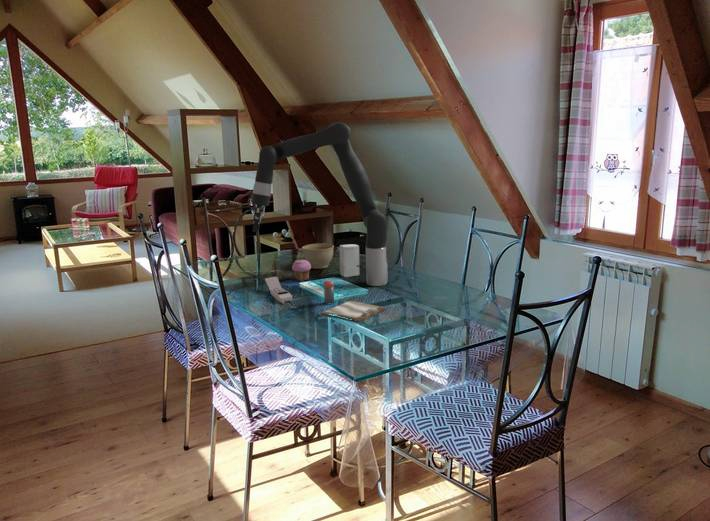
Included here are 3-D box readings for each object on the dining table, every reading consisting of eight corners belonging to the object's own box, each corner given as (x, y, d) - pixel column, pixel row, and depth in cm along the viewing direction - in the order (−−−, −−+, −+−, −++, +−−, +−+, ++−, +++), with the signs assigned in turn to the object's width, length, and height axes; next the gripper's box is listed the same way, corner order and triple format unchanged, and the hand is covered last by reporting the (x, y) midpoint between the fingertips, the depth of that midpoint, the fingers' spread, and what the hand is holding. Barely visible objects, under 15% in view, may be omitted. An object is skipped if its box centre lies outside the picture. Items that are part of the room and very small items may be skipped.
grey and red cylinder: (328, 300, 247) (328, 280, 245) (336, 302, 244) (335, 281, 242) (322, 303, 244) (321, 282, 242) (330, 304, 241) (329, 283, 239)
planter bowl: (340, 265, 307) (339, 244, 305) (322, 272, 294) (321, 250, 291) (315, 262, 316) (314, 242, 313) (297, 268, 302) (295, 248, 300)
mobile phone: (276, 276, 267) (294, 289, 244) (278, 288, 268) (295, 302, 246) (263, 278, 264) (280, 291, 242) (265, 290, 266) (281, 305, 244)
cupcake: (300, 283, 274) (298, 262, 272) (289, 280, 281) (288, 259, 278) (315, 279, 280) (314, 259, 278) (304, 276, 286) (303, 256, 284)
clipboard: (350, 302, 244) (350, 297, 243) (386, 309, 233) (386, 304, 233) (322, 314, 230) (322, 309, 229) (359, 322, 219) (359, 317, 219)
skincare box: (344, 277, 282) (343, 247, 279) (339, 274, 288) (338, 244, 284) (360, 275, 286) (359, 245, 282) (355, 272, 291) (354, 243, 288)
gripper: (269, 195, 242) (263, 234, 244) (271, 194, 257) (265, 231, 258) (251, 192, 242) (245, 231, 243) (253, 191, 256) (248, 228, 258)
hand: (255, 231), depth 251 cm, fingers open, 8 cm apart
